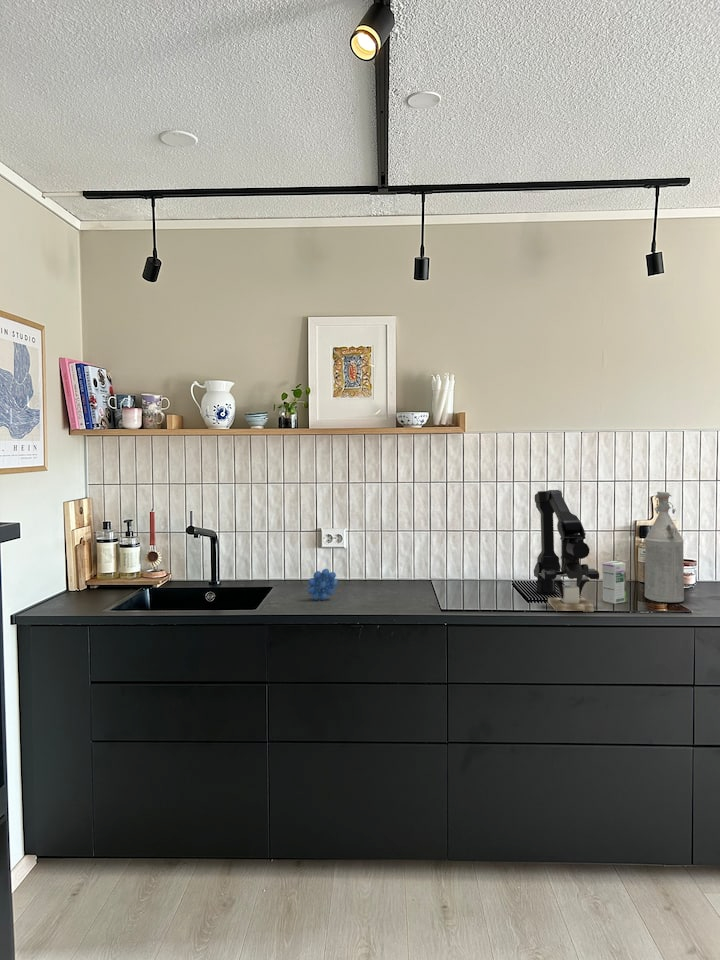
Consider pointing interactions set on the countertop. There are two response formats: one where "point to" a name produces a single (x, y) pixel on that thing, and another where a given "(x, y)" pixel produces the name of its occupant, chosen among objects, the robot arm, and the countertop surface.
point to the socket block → (571, 605)
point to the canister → (664, 557)
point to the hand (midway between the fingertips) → (569, 598)
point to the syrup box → (614, 582)
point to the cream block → (570, 594)
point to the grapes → (322, 584)
